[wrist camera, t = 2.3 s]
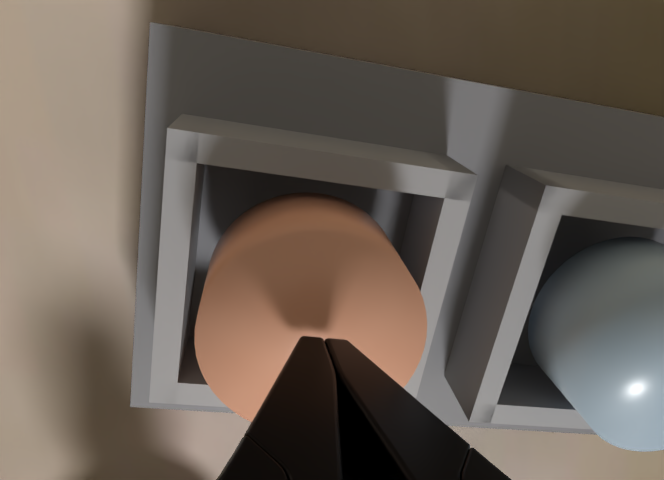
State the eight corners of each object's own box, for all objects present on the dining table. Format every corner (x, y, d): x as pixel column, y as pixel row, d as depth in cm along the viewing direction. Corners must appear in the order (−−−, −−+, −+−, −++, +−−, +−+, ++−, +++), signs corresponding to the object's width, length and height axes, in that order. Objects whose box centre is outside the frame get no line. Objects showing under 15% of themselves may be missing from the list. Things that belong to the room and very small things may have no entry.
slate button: (717, 247, 13) (810, 291, 11) (650, 392, 15) (720, 455, 12) (560, 226, 12) (625, 267, 10) (506, 380, 14) (554, 446, 12)
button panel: (885, 157, 18) (1100, 199, 13) (755, 395, 21) (891, 493, 17) (172, 25, 14) (127, 19, 9) (151, 347, 17) (110, 461, 13)
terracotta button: (416, 206, 12) (452, 246, 9) (376, 370, 13) (399, 438, 11) (217, 179, 11) (205, 215, 9) (198, 357, 12) (185, 427, 10)
